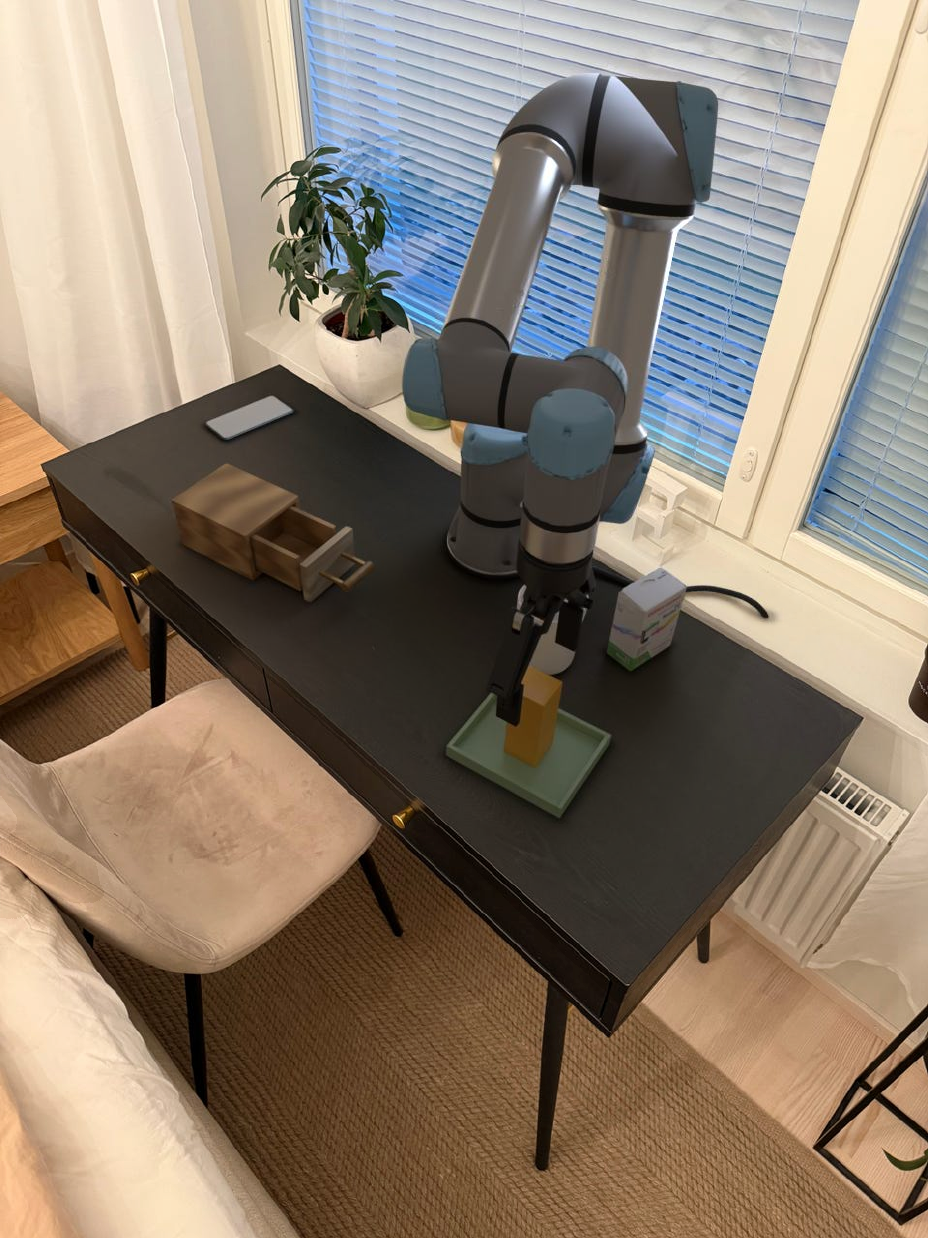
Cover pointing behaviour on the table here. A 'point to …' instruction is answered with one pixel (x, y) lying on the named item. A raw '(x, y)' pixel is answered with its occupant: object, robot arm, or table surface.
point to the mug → (549, 646)
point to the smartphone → (249, 417)
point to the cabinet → (229, 515)
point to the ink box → (645, 618)
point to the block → (534, 718)
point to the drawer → (306, 553)
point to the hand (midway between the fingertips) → (537, 681)
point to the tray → (540, 785)
